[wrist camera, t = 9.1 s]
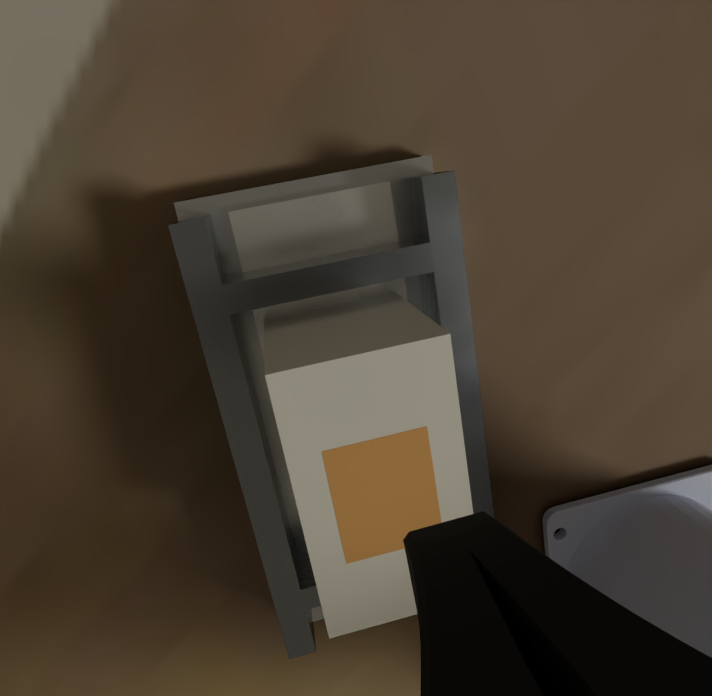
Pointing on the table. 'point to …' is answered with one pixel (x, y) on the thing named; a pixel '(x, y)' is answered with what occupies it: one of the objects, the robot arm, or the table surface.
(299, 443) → the module
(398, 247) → the rail mount
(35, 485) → the table surface
